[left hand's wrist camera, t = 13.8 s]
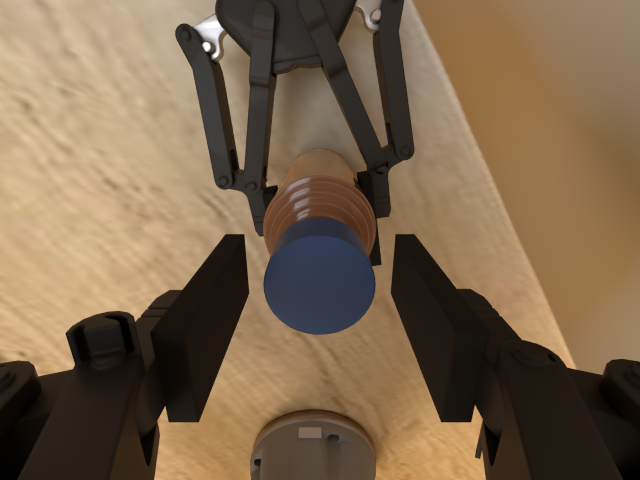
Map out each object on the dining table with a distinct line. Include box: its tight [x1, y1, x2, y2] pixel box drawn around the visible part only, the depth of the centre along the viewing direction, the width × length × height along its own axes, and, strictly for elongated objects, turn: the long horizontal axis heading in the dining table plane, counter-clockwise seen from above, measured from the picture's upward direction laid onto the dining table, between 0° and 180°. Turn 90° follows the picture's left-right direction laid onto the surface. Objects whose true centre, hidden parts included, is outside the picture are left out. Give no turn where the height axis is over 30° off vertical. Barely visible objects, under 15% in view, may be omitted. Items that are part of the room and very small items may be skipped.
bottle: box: [263, 149, 376, 256], centre depth 22 cm, size 6×6×19 cm
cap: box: [264, 217, 375, 334], centre depth 13 cm, size 4×4×2 cm
